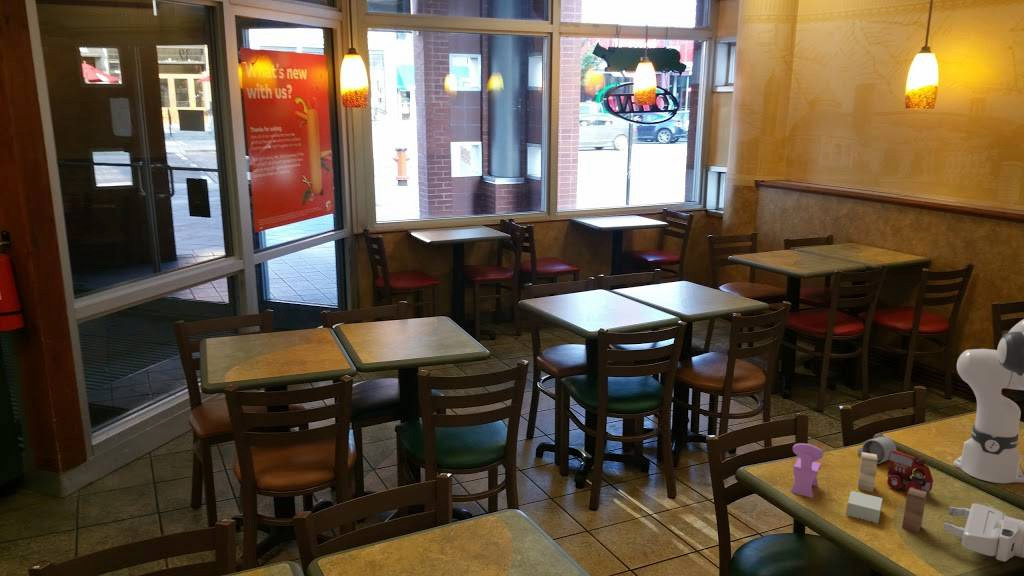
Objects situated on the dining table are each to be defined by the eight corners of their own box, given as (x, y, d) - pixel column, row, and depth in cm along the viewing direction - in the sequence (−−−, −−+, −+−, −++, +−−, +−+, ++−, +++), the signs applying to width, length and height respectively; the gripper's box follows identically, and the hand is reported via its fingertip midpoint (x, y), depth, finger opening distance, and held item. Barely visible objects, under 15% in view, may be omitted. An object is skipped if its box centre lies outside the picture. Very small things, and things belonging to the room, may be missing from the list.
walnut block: (904, 521, 208) (910, 487, 205) (921, 526, 205) (926, 492, 203) (902, 527, 204) (907, 493, 202) (918, 532, 202) (924, 498, 200)
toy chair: (822, 486, 226) (827, 438, 223) (816, 498, 219) (822, 449, 215) (792, 479, 230) (798, 432, 227) (786, 491, 223) (791, 443, 220)
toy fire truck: (925, 500, 219) (930, 467, 217) (880, 485, 228) (885, 452, 226) (934, 493, 224) (939, 459, 222) (889, 477, 233) (894, 445, 230)
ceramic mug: (897, 461, 244) (899, 438, 242) (883, 467, 239) (886, 444, 237) (865, 449, 252) (867, 427, 250) (851, 456, 247) (853, 433, 246)
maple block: (857, 483, 229) (861, 452, 226) (872, 485, 227) (876, 454, 225) (858, 489, 225) (862, 457, 223) (873, 491, 224) (877, 460, 221)
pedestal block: (849, 503, 217) (851, 490, 216) (880, 511, 213) (882, 498, 212) (845, 516, 210) (847, 502, 209) (877, 524, 207) (879, 510, 206)
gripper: (1014, 507, 199) (953, 490, 207) (1007, 541, 183) (942, 522, 191) (1010, 529, 201) (950, 512, 208) (1003, 565, 184) (938, 545, 192)
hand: (946, 517), depth 200 cm, fingers open, 8 cm apart
